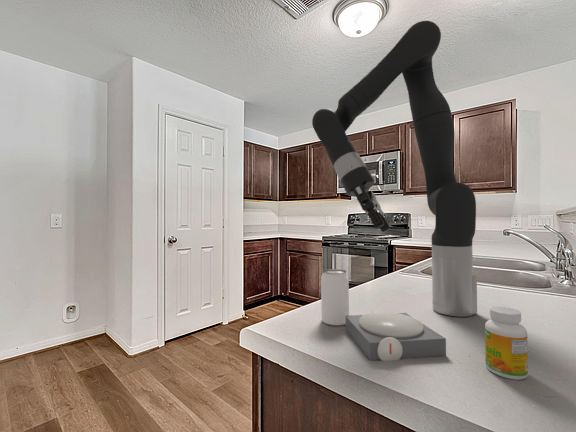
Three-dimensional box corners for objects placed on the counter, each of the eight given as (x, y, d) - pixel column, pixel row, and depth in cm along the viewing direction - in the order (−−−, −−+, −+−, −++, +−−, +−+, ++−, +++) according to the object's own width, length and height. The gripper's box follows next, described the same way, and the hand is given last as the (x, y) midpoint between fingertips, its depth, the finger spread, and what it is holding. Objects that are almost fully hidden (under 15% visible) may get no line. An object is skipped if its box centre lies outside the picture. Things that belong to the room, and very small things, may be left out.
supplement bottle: (477, 363, 48) (476, 305, 48) (507, 361, 49) (506, 304, 49) (504, 381, 43) (503, 316, 43) (537, 379, 43) (536, 314, 43)
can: (349, 327, 65) (348, 274, 65) (320, 325, 66) (319, 273, 66) (349, 317, 71) (348, 269, 71) (322, 316, 72) (322, 268, 72)
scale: (405, 328, 65) (405, 309, 65) (448, 360, 50) (447, 335, 50) (345, 332, 63) (345, 312, 64) (371, 365, 49) (371, 339, 49)
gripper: (359, 157, 67) (393, 217, 62) (372, 173, 80) (401, 224, 74) (331, 174, 70) (362, 233, 64) (348, 187, 82) (375, 238, 77)
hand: (383, 228), depth 69 cm, fingers open, 8 cm apart
